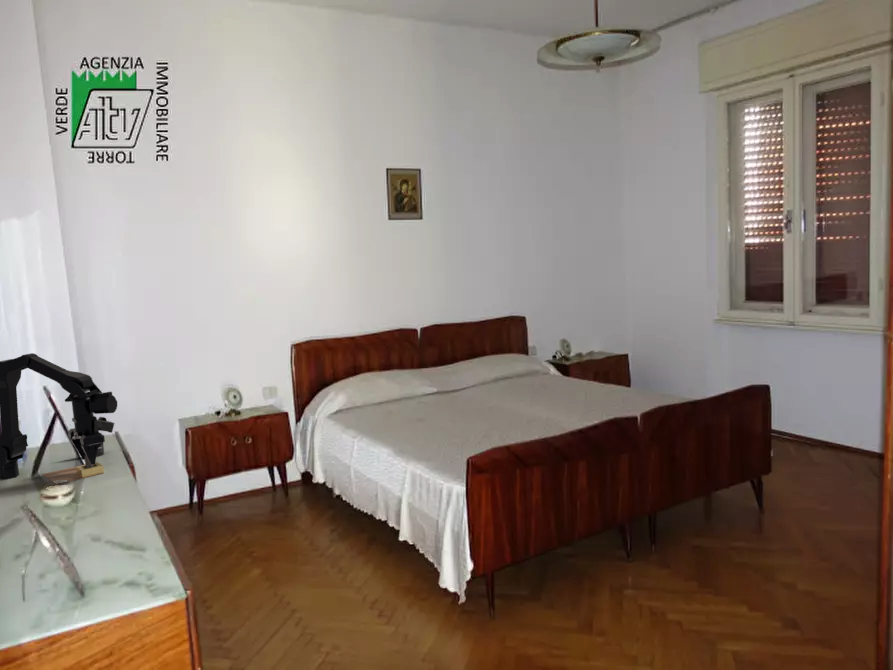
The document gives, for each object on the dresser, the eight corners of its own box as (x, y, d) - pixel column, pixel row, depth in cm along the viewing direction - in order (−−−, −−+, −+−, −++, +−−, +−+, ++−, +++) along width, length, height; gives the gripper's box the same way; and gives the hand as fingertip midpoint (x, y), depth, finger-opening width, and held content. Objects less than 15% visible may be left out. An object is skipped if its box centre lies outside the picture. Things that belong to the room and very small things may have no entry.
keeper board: (42, 478, 229) (39, 456, 228) (88, 468, 238) (85, 446, 238) (56, 489, 216) (53, 465, 215) (104, 477, 225) (102, 455, 224)
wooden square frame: (76, 474, 226) (75, 466, 226) (98, 469, 230) (97, 462, 230) (82, 477, 221) (81, 470, 221) (103, 472, 226) (103, 465, 225)
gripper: (119, 412, 222) (124, 460, 224) (101, 406, 236) (106, 451, 238) (81, 419, 215) (86, 469, 216) (65, 412, 229) (70, 459, 230)
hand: (88, 461), depth 225 cm, fingers open, 9 cm apart
